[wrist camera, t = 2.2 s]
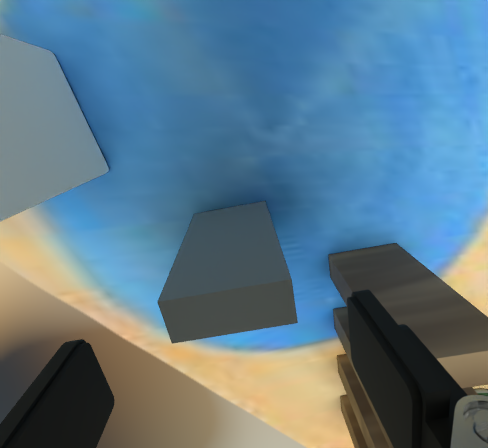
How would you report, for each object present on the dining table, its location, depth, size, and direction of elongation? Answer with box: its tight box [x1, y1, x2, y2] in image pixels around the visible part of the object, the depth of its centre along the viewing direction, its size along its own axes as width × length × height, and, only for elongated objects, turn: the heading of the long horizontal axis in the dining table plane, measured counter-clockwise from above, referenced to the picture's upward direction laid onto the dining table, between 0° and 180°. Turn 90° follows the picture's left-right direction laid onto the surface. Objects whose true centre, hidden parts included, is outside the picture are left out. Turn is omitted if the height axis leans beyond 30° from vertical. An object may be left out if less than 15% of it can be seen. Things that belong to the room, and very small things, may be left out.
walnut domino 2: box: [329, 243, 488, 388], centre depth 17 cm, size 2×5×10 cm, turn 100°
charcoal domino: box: [158, 201, 298, 343], centre depth 16 cm, size 2×5×10 cm, turn 101°
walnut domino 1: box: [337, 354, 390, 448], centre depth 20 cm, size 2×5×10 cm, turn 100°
